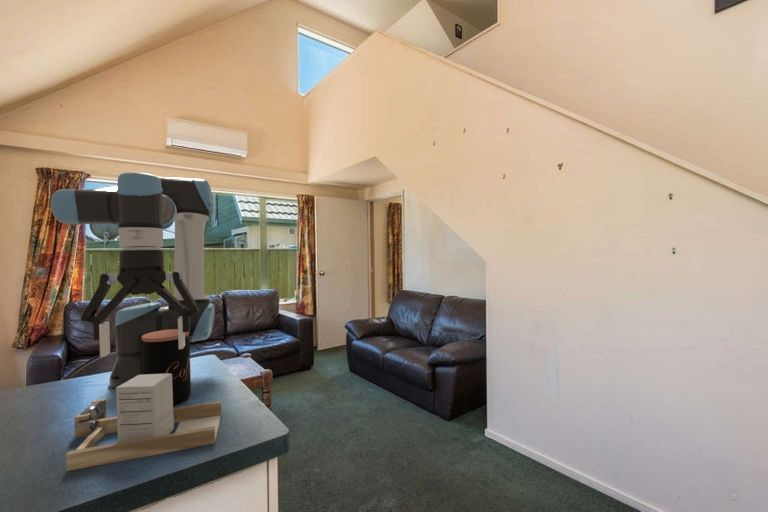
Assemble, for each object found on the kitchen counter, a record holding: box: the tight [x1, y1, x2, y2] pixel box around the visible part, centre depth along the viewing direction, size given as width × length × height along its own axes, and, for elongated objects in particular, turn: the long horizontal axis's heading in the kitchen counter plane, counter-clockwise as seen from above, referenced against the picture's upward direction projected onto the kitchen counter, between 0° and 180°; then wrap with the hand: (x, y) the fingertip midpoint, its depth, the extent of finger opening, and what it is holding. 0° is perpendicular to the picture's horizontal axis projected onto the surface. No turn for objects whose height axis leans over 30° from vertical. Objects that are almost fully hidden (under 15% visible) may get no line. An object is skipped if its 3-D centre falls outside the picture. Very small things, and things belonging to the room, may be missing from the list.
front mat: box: [174, 414, 222, 440], centre depth 76 cm, size 11×8×1 cm
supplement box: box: [115, 374, 175, 443], centre depth 73 cm, size 7×7×13 cm
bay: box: [65, 400, 223, 472], centre depth 73 cm, size 14×24×3 cm, turn 110°
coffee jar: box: [142, 329, 192, 407], centre depth 91 cm, size 11×11×18 cm
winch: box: [73, 398, 108, 439], centre depth 77 cm, size 12×5×5 cm, turn 20°
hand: (144, 351), depth 72 cm, fingers open, 13 cm apart
